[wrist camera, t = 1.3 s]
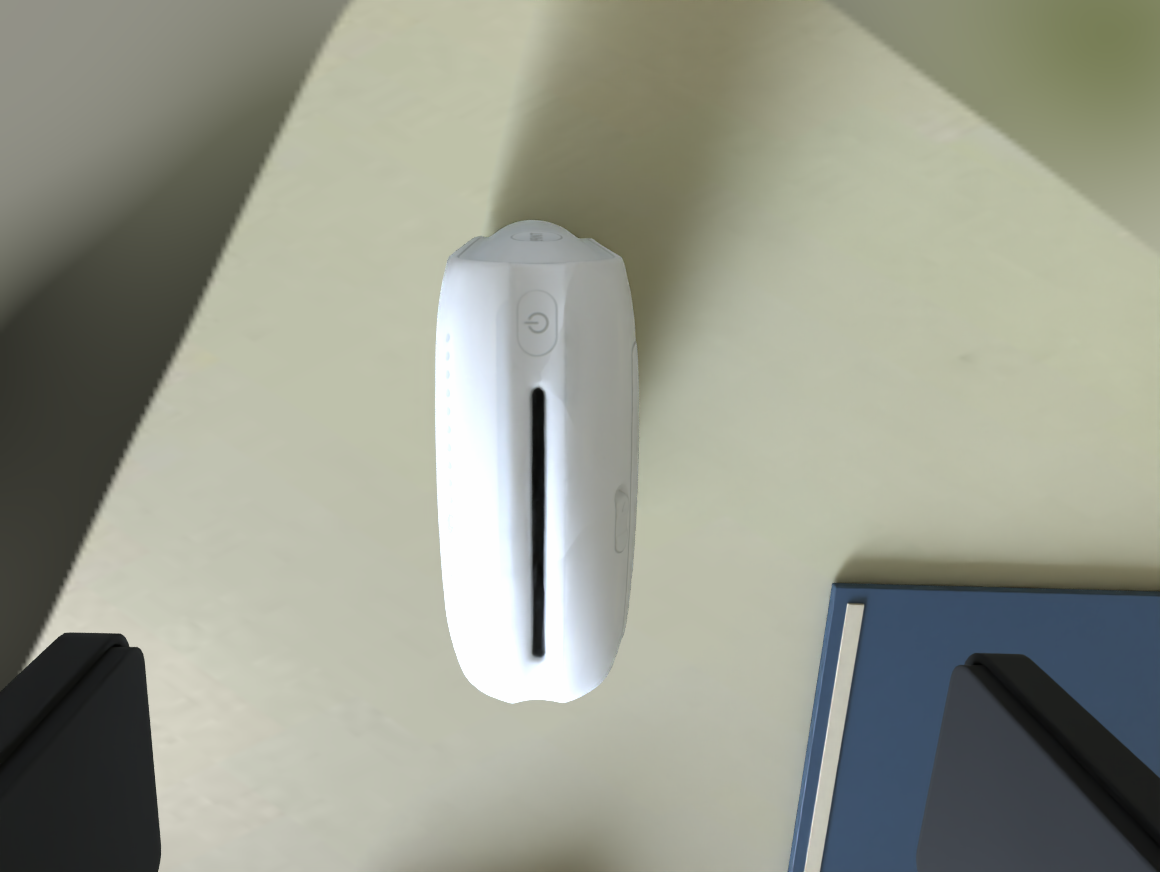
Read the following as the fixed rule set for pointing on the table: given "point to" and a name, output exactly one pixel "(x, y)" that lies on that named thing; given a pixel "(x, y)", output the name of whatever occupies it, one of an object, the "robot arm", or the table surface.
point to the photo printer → (536, 459)
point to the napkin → (919, 690)
